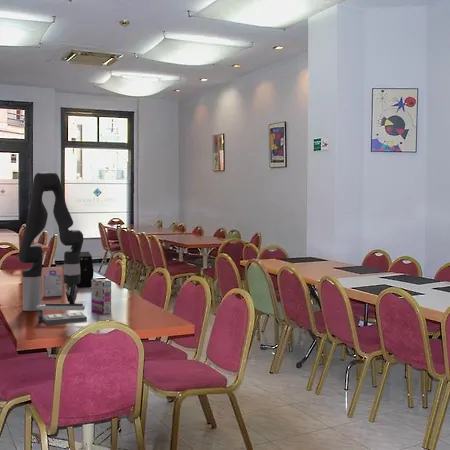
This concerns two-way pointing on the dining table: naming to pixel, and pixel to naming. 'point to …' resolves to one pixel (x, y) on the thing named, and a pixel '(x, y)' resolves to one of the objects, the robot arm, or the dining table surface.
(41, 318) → the pivot post
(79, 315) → the label panel
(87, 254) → the uninterruptible power supply
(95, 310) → the candy bar box
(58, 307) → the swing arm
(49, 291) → the ink cartridge box
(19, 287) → the dining table surface
